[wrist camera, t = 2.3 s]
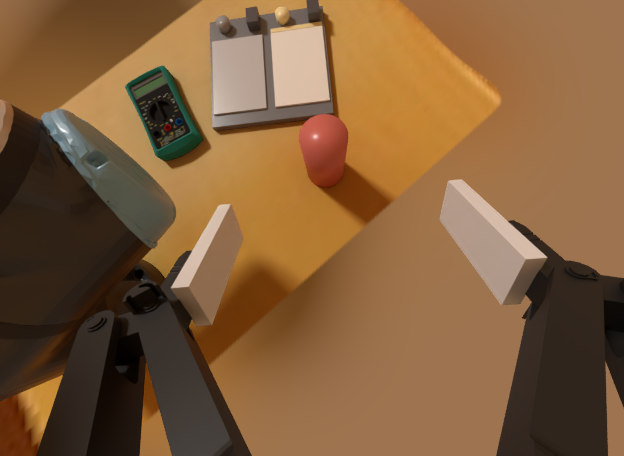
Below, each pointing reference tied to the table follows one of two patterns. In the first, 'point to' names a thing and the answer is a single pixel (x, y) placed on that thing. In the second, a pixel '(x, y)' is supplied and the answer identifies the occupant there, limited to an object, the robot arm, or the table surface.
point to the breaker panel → (269, 68)
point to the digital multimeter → (163, 114)
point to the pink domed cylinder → (324, 149)
